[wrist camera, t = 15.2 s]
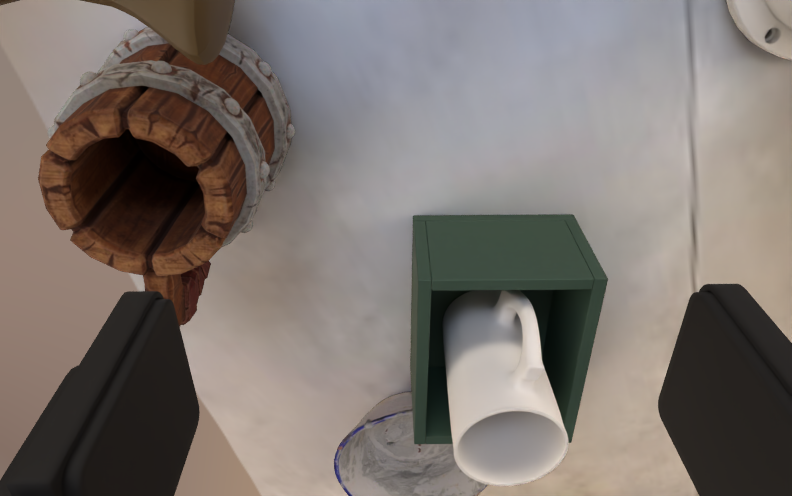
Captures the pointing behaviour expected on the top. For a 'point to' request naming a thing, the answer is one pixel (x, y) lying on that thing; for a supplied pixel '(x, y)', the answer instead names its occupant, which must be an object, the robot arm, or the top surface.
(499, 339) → the mug
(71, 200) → the mug
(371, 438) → the bowl
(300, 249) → the top surface
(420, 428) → the bin
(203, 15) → the kendama
